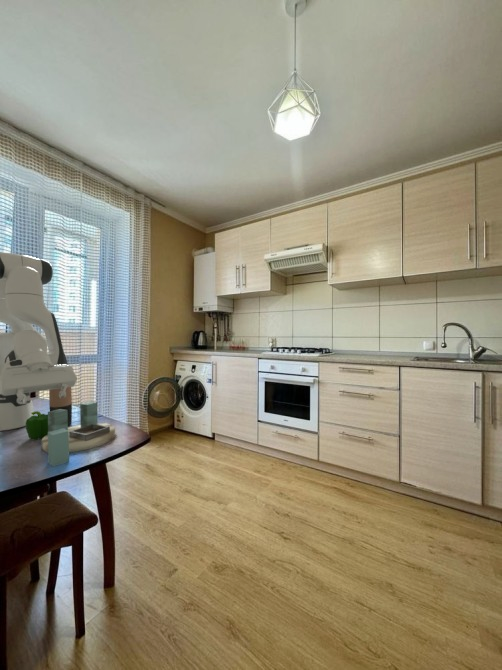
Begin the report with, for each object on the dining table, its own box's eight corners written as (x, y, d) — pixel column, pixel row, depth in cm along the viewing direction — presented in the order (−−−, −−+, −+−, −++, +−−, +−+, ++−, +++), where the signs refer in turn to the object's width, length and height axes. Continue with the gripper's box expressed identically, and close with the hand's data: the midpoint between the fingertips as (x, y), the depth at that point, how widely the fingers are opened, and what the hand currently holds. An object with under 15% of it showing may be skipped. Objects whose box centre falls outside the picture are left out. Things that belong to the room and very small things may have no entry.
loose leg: (48, 462, 81) (47, 432, 81) (64, 457, 84) (63, 428, 84) (53, 466, 78) (52, 434, 78) (69, 461, 82) (68, 430, 82)
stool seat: (35, 441, 98) (34, 408, 98) (102, 425, 114) (101, 397, 114) (50, 459, 83) (49, 421, 83) (125, 438, 99) (124, 406, 99)
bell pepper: (50, 431, 107) (49, 406, 107) (57, 436, 102) (56, 409, 102) (22, 438, 101) (22, 411, 101) (28, 443, 96) (28, 415, 96)
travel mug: (76, 422, 118) (75, 376, 118) (62, 429, 110) (61, 379, 110) (59, 422, 119) (59, 376, 119) (45, 428, 111) (44, 379, 111)
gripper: (68, 369, 103) (79, 399, 97) (-5, 376, 87) (2, 412, 81) (73, 358, 101) (84, 387, 95) (-2, 363, 85) (5, 399, 79)
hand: (46, 399), depth 88 cm, fingers open, 8 cm apart
